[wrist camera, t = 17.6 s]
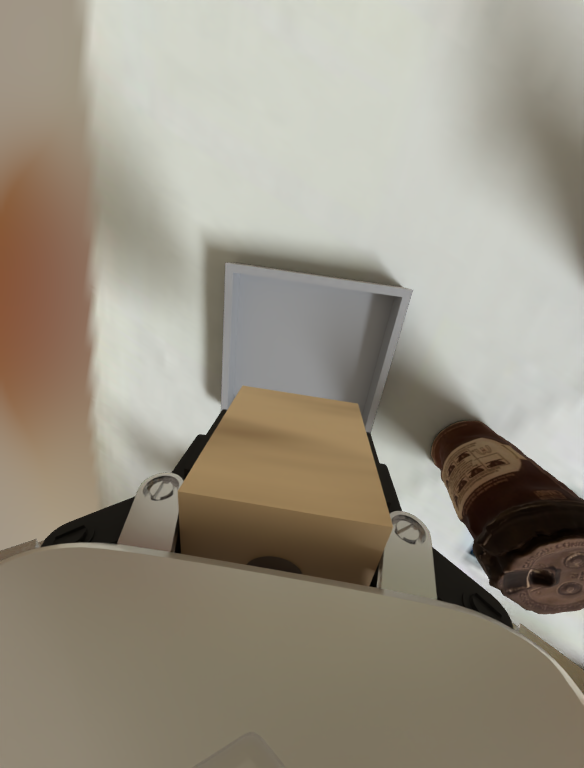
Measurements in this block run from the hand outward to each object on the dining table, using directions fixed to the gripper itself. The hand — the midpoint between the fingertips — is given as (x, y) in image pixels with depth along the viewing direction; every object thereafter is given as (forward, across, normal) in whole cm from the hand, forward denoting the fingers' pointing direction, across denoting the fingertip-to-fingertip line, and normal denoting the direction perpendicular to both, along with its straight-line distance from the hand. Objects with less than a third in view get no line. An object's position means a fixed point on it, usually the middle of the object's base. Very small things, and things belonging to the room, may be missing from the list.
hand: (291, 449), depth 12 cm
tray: (+14, 0, 0) cm, 14 cm away
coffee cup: (+15, -17, +7) cm, 24 cm away
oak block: (+1, 0, 0) cm, 1 cm away
